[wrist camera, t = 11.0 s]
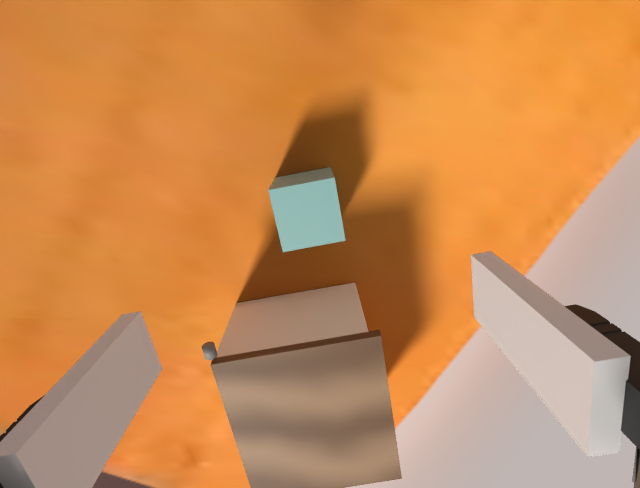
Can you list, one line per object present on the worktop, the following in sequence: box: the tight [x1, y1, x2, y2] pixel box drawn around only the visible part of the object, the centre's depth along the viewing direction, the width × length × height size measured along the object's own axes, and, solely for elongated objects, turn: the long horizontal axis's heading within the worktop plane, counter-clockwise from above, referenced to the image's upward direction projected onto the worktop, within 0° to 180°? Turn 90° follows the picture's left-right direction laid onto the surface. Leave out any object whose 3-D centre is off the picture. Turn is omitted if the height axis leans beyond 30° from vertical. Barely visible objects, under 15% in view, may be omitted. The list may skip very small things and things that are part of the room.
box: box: [202, 283, 369, 360], centre depth 35 cm, size 17×12×10 cm
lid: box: [211, 330, 402, 488], centre depth 30 cm, size 14×13×1 cm
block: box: [268, 167, 346, 252], centre depth 31 cm, size 5×5×6 cm
